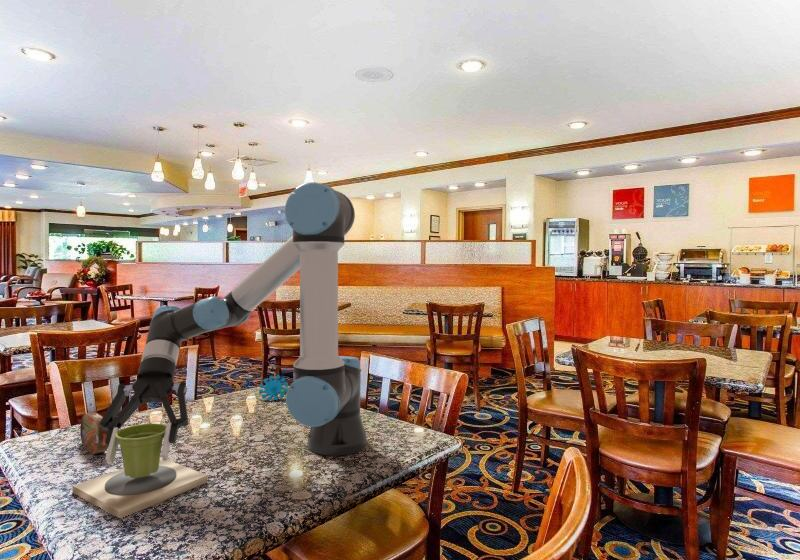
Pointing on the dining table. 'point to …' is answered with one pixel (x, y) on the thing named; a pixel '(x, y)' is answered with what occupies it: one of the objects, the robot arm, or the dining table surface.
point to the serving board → (138, 488)
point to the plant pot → (141, 448)
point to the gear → (273, 388)
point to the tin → (93, 433)
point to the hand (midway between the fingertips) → (137, 459)
